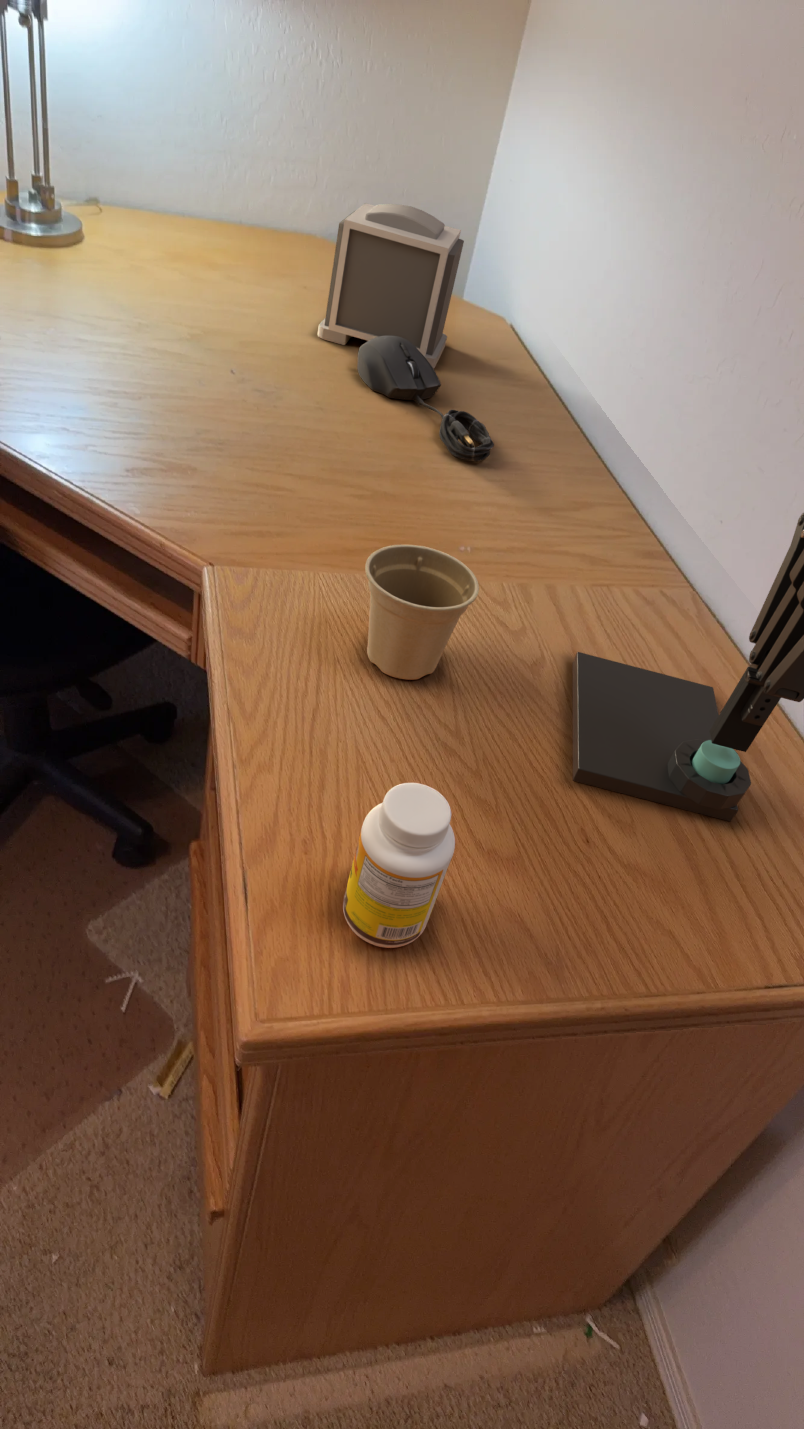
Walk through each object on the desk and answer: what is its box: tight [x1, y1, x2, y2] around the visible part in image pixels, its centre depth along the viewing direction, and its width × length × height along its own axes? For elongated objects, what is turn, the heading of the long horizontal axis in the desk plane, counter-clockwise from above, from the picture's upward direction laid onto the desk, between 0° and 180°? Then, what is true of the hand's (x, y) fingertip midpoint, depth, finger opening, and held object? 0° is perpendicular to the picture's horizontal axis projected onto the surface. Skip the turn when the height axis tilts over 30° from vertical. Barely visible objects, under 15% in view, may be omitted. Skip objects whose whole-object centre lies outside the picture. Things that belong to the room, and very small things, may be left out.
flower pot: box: [364, 544, 480, 681], centre depth 74 cm, size 9×9×9 cm
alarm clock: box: [317, 202, 465, 369], centre depth 131 cm, size 18×13×18 cm
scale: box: [572, 651, 752, 822], centre depth 74 cm, size 16×14×3 cm
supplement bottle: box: [342, 782, 456, 949], centre depth 52 cm, size 6×6×10 cm
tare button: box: [692, 740, 741, 784], centre depth 69 cm, size 3×3×2 cm
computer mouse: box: [356, 336, 495, 462], centre depth 117 cm, size 10×32×6 cm, turn 29°
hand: (727, 741), depth 68 cm, fingers closed
